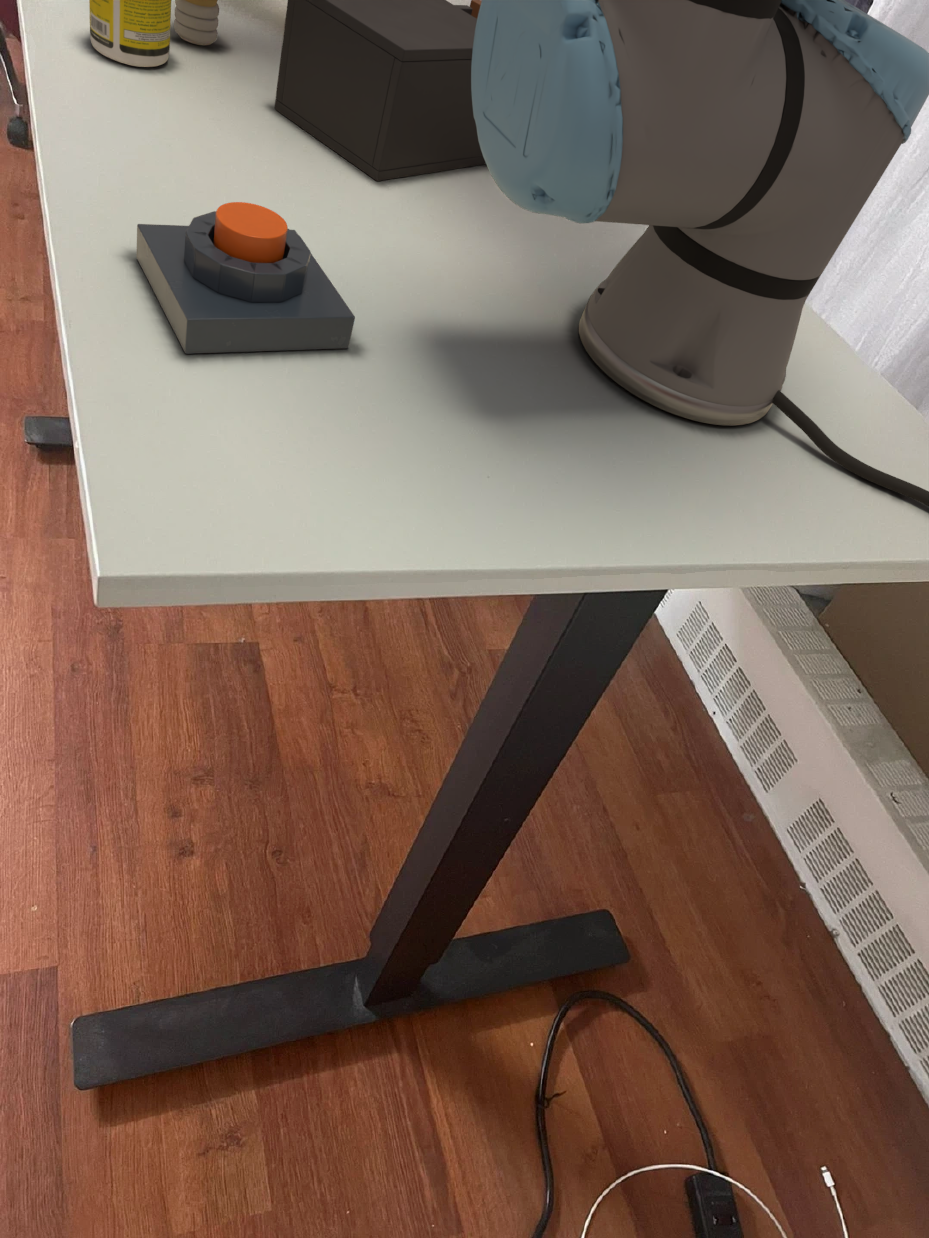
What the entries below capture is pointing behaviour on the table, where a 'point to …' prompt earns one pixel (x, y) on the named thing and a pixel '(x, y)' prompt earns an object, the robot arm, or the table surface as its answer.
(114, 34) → the pill bottle
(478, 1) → the drawer
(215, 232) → the button
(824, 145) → the robot arm
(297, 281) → the control box
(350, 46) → the cabinet
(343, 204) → the table surface
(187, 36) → the light bulb
